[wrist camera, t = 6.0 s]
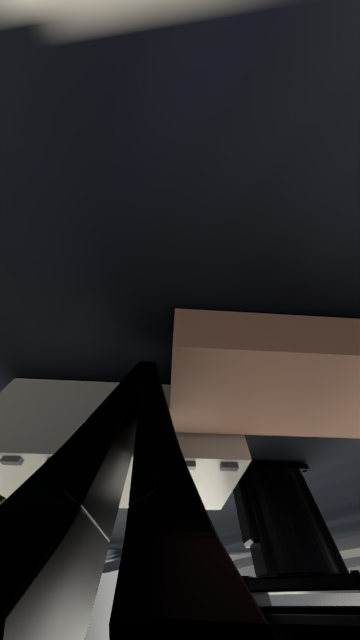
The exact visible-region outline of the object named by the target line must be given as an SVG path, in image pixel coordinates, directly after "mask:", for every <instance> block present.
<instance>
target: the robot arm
mask: <svg viewBox="0 0 360 640" xmlns="http://www.w3.org/2000/svg"><path fill="white" fill-rule="evenodd" d="M133 450H134V454H133ZM132 454H133V464H132V474H131V484H130V494H129V503H128V506H129V508H128V513H127V522H126V530H125V537H124V544H123V550H122V555H121V561H120V566H119V572H118V578H117V583H116V589H115V594H114V600H113V606H112V611H111V617H110V622H109V638H110V640H360V606H272V605H271V602H270V599H269V595H268V594H315V593H316V594H319V593H360V572H359V571H358V570H354V571H350V572H351V573H349V571H348V569H347V567H346V565H345V563H344V561H343V559H342V557H341V555H340V552H339V550H338V548H337V546H336V544H335V542H334V540H333V538H332V536H331V534H330V531H329V529H328V527H327V525H326V523H325V521H324V519H323V517H322V515H321V513H320V511H319V508H318V506H317V504H316V502H315V500H314V498H313V496H312V494H311V492H310V490H309V488H308V486H307V483H306V481H305V479H304V476H305V475H306V474H307V473H308V472H309V471H310V469H309V467H308V465H307V464H291V463H257V462H250V464H249V466H248V467H247V469H246V470H245V472H244V473H243V475H242V477H241V478H240V480H239V481H238V483H237V485H236V486H235V488H234V489H233V493H234V498H235V503H236V509H237V514H238V519H239V524H240V529H241V534H242V539H243V544H244V545H245V546H246V548H250V550H251V555H252V560H253V564H254V569H255V574H256V577H259V578H254V577H250V576H241V575H240V573H239V572H238V570H237V568H236V566H235V565H234V563H233V561H232V559H231V558H230V556H229V554H228V553H227V551H226V549H225V547H224V546H223V544H222V542H221V540H220V538H219V536H218V534H217V533H216V531H215V528H214V526H213V524H212V522H211V520H210V518H209V516H208V513H207V511H206V509H205V507H204V504H203V502H202V500H201V497H200V495H199V492H198V490H197V488H196V485H195V483H194V481H193V478H192V476H191V473H190V471H189V469H188V466H187V464H186V461H185V459H184V456H183V453H182V451H181V448H180V445H179V442H178V439H177V436H176V432H175V429H174V425H173V422H172V418H171V415H170V411H169V408H168V404H167V401H166V397H165V394H164V390H163V387H162V383H161V380H160V376H159V373H158V369H157V366H156V363H155V362H147V361H140V362H138V363H137V365H136V366H135V367H134V368H133V369H132V370H131V371H130V372H129V373H128V374H127V376H126V377H125V378H124V379H123V380H122V381H121V382H120V383H119V384H118V385H117V387H116V388H115V389H114V390H113V391H112V392H111V393H110V394H109V395H108V397H107V398H106V399H105V400H104V401H103V402H102V403H101V404H100V405H99V406H98V408H97V409H96V410H95V411H94V412H93V413H92V414H91V415H90V416H89V417H88V419H87V420H86V423H85V422H84V423H83V424H82V425H81V426H80V427H79V428H78V429H77V431H76V432H75V433H74V434H73V435H72V436H71V437H70V438H69V439H68V440H67V441H66V442H65V443H64V444H63V445H62V446H61V447H60V448H59V449H58V450H57V451H56V452H55V453H54V454H53V455H52V456H51V457H50V458H49V459H48V460H47V461H46V462H45V463H44V464H43V465H42V466H41V467H40V468H39V469H37V470H36V471H35V472H34V473H33V474H32V475H31V476H30V477H29V478H28V479H27V480H26V481H25V482H24V483H23V484H22V485H21V486H19V487H18V488H17V489H16V490H15V491H14V492H13V493H12V494H11V495H10V496H9V497H8V498H7V499H6V500H5V501H4V502H3V503H2V504H0V640H85V636H86V632H87V629H88V625H89V621H90V617H91V613H92V609H93V605H94V602H95V597H96V593H97V590H98V586H99V582H100V578H101V574H102V571H103V567H104V563H105V559H106V555H107V551H108V547H109V542H110V539H111V535H112V532H113V528H114V524H115V520H116V516H117V512H118V508H119V504H120V500H121V497H122V493H123V489H124V485H125V481H126V477H127V473H128V469H129V466H130V462H131V458H132Z"/></svg>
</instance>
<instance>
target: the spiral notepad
mask: <svg viewBox="0 0 360 640" xmlns="http://www.w3.org/2000/svg"><path fill="white" fill-rule="evenodd" d="M118 384H119V382H95V381H71V380H48V379H24V378H15V379H14V380H13V381H11V382H10V383H9V384H8V385H7V386H6V387H5V388H4V389H3V390H2V391H1V392H0V495H2V496H3V497H5V498H6V499H7V498H8V497H9V496H10V495H11V494H12V493H13V492H14V491H15V490H16V489H17V488H18V487H19V486H21V485H22V484H23V483H24V482H25V481H26V480H27V479H28V478H29V477H30V476H31V475H32V474H33V473H34V472H35V471H36V470H37V469H39V468H40V467H41V466H42V465H43V464H44V463H45V462H46V461H47V460H48V459H49V458H50V457H51V456H52V455H53V454H54V453H55V452H56V451H57V450H58V449H59V448H60V447H61V446H62V445H63V444H64V443H65V442H66V441H67V440H68V439H69V438H70V437H71V436H72V435H73V434H74V433H75V432H76V431H77V429H78V428H79V427H80V426H81V425H82V424H83V423H84V422H85V423H86V420H87V419H88V417H89V416H90V415H91V414H92V413H93V412H94V411H95V410H96V409H97V408H98V406H99V405H100V404H101V403H102V402H103V401H104V400H105V399H106V398H107V397H108V395H109V394H110V393H111V392H112V391H113V390H114V389H115V388H116V387H117V385H118ZM162 387H163V390H164V394H165V397H166V401H167V404H168V408H170V388H171V385H166V384H162ZM176 436H177V439H178V442H179V445H180V448H181V451H182V453H183V456H184V459H185V461H186V464H187V466H188V469H189V471H190V473H191V476H192V478H193V481H194V483H195V485H196V488H197V490H198V492H199V495H200V497H201V500H202V502H203V504H204V507H205V509H206V510H221V508H222V507H223V505H224V504H225V502H226V500H227V499H228V497H229V496H230V494H231V493H232V491H233V489H234V488H235V486H236V485H237V483H238V481H239V480H240V478H241V477H242V475H243V473H244V472H245V470H246V469H247V467H248V466H249V464H250V462H251V461H252V459H251V456H250V452H249V449H248V445H247V442H246V439H245V435H242V434H213V433H183V432H176ZM133 454H134V450H133ZM133 454H132V458H131V462H130V466H129V469H128V473H127V477H126V481H125V485H124V489H123V493H122V497H121V500H120V504H119V508H129V506H128V503H129V494H130V484H131V474H132V464H133Z"/></svg>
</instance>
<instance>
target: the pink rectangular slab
mask: <svg viewBox="0 0 360 640" xmlns="http://www.w3.org/2000/svg"><path fill="white" fill-rule="evenodd" d="M169 411H170V415H171V418H172V422H173V425H174V429H175V432H183V433H213V434H242V435H272V436H302V437H331V438H360V319H355V318H338V317H320V316H302V315H284V314H266V313H248V312H230V311H212V310H195V309H177V308H175V315H174V332H173V349H172V369H171V388H170V408H169Z"/></svg>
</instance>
